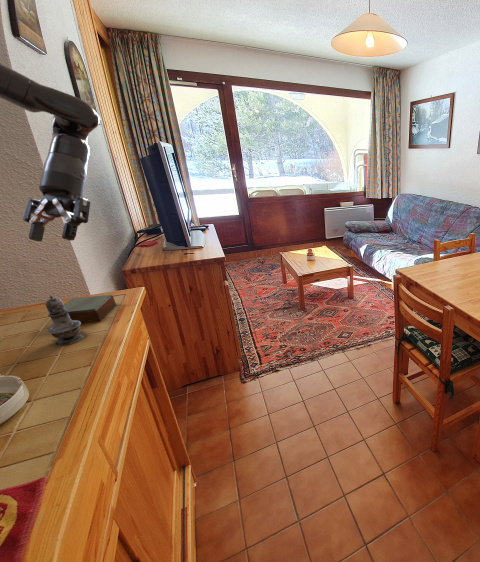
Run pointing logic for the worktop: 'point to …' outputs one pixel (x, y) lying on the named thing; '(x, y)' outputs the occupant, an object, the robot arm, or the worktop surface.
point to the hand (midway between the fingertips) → (51, 239)
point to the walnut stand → (90, 308)
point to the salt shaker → (62, 323)
